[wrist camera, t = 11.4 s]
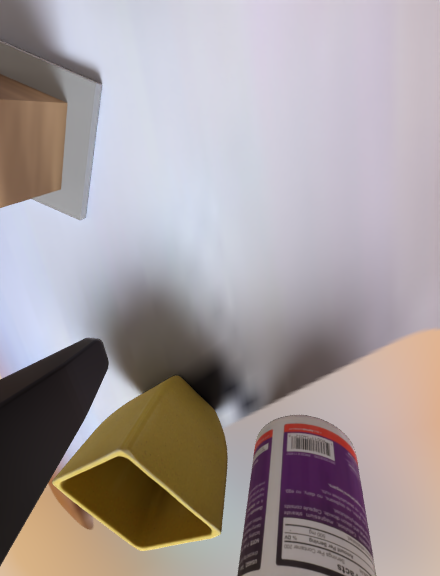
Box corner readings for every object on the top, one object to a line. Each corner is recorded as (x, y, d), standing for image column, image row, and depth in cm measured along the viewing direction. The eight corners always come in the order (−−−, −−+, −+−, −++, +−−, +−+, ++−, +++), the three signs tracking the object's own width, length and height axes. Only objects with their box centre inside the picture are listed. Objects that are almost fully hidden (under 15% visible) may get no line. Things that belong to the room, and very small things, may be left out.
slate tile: (101, 84, 17) (96, 83, 16) (85, 217, 21) (80, 220, 21) (-32, 26, 17) (-42, 23, 16) (-22, 170, 21) (-30, 172, 21)
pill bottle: (288, 478, 30) (279, 737, 17) (238, 423, 27) (188, 673, 15) (373, 460, 26) (438, 773, 14) (323, 396, 24) (346, 696, 11)
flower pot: (114, 386, 29) (47, 484, 21) (176, 346, 25) (120, 450, 17) (179, 444, 31) (139, 552, 23) (246, 416, 27) (224, 537, 19)
